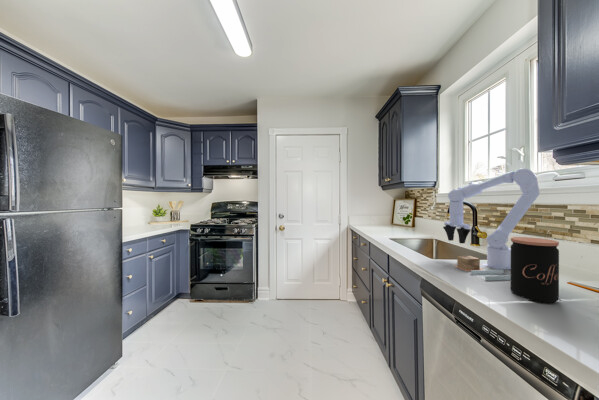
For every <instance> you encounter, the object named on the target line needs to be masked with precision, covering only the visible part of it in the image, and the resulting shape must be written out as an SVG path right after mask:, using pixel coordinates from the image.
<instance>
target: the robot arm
mask: <svg viewBox="0 0 599 400" xmlns="http://www.w3.org/2000/svg"><path fill="white" fill-rule="evenodd" d="M514 182H515V183H516V184H517V185H518V186H519V188H520V190H521V193H522V194H521V196H520V197H519V198H518V199H517V201H516V202H515V204H514V205H513V207H512V208H511V209H510V210H509V212H508V213H507V215H506V216H505V218H504V219H502V221H501V223H500V225H499V226H498V227H497V228H496V230H495V231H493V232H491V234H489V235H488V236H487V238H486V242H487V246H486V251H487V252H486V263H482V265H483V266H486V267H489V268H492V269H494V270H511V247H509V246H508V245H507V243H508V241H509V236H510V235H511V233H512V232H513V230H514V229H515V227H516V226H517V225H518V223H519V222H520V221H521V220H522V218H523V217H524V215H525V214H526V213H527V211H528V210H529V209H530V208H531V206H533V204H534V203H535V201H536V200H537V199H538V197H539V195H540V188H539V183H538V178H537V177H536V175H535V173H534V172H533V171H532V170H531V169H528V168H519V169H517V170H512V171H509V172H506V173H503V174H499V175H498V176H495V177H493V178H489V179H487V180H485V181H483V182H480V183H478V182H472V181H471V182H469V183H468V184H467V185H464V186H463V187H461V186H459V187H458V188H457V189H452V190H451V191H449V192H448V194H447V198H448V200H449V205H448V206H449V207H448V211H449V216H448V217H449V221H444V224H443V225H444V226H443V230H444V231H445V233H446V236H447V239H448V241H454V240H455V239H454V238H455V231H457V235H458V243H459V244H465V243H466V241H467V237H468V235H469V233H470V232H471V229H470V228H471V225H470V224H467V223H465V222H464V199H469V198H472V197H475V196H478V195H481V194H482V193H483V191H484V190H486V189H489V188H493V187H496V186H499V185H502V184H514Z"/></svg>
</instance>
